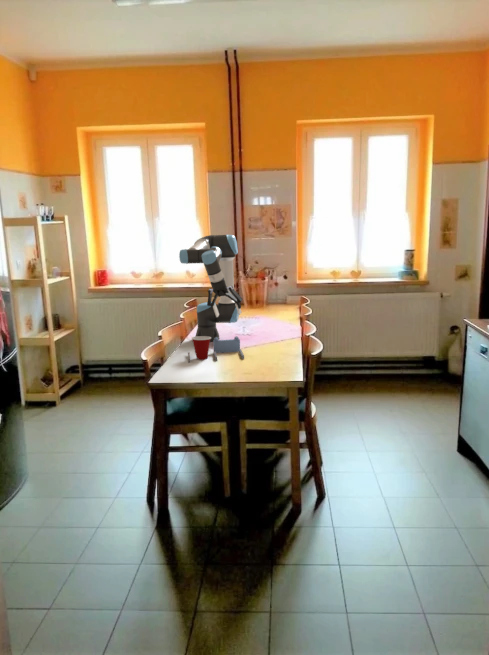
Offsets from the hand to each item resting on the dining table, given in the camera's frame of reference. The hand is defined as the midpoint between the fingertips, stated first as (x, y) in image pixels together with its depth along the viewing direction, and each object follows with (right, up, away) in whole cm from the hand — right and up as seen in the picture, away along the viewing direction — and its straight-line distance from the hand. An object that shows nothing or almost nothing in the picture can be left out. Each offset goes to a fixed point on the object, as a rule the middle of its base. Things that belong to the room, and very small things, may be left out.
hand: (228, 314), depth 272 cm
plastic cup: (-15, -24, +4) cm, 28 cm away
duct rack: (-8, -23, +6) cm, 25 cm away
